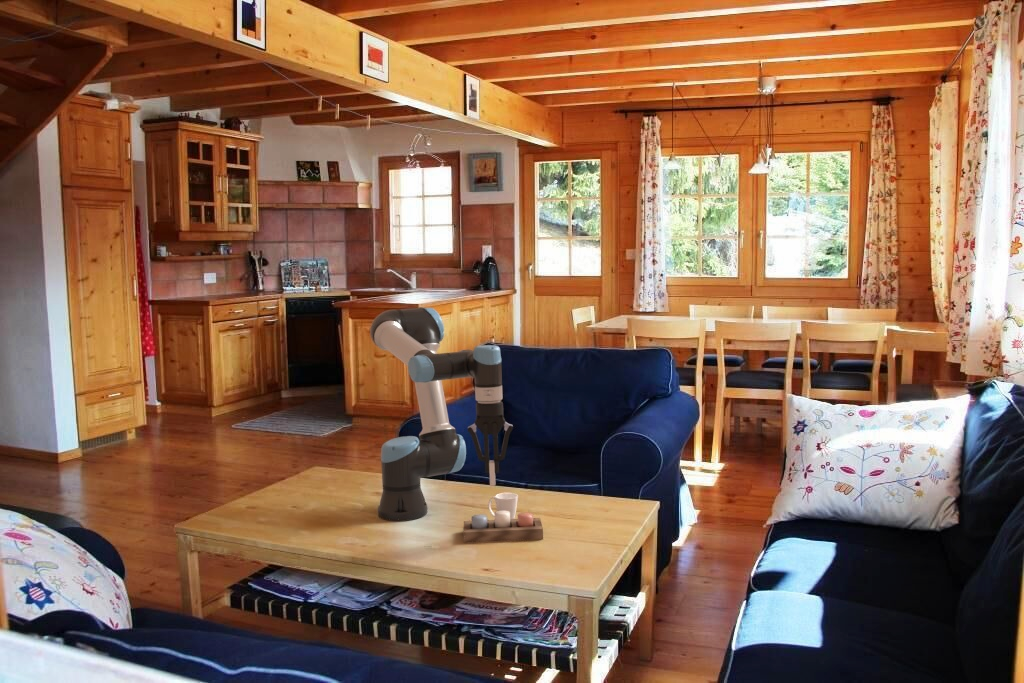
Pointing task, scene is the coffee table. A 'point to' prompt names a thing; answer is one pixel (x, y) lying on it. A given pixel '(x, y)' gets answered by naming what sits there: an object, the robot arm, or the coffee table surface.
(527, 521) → the pink egg
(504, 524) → the cream rounded knob
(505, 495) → the cup
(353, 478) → the coffee table surface
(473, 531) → the brown compartment tray
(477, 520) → the blue egg
